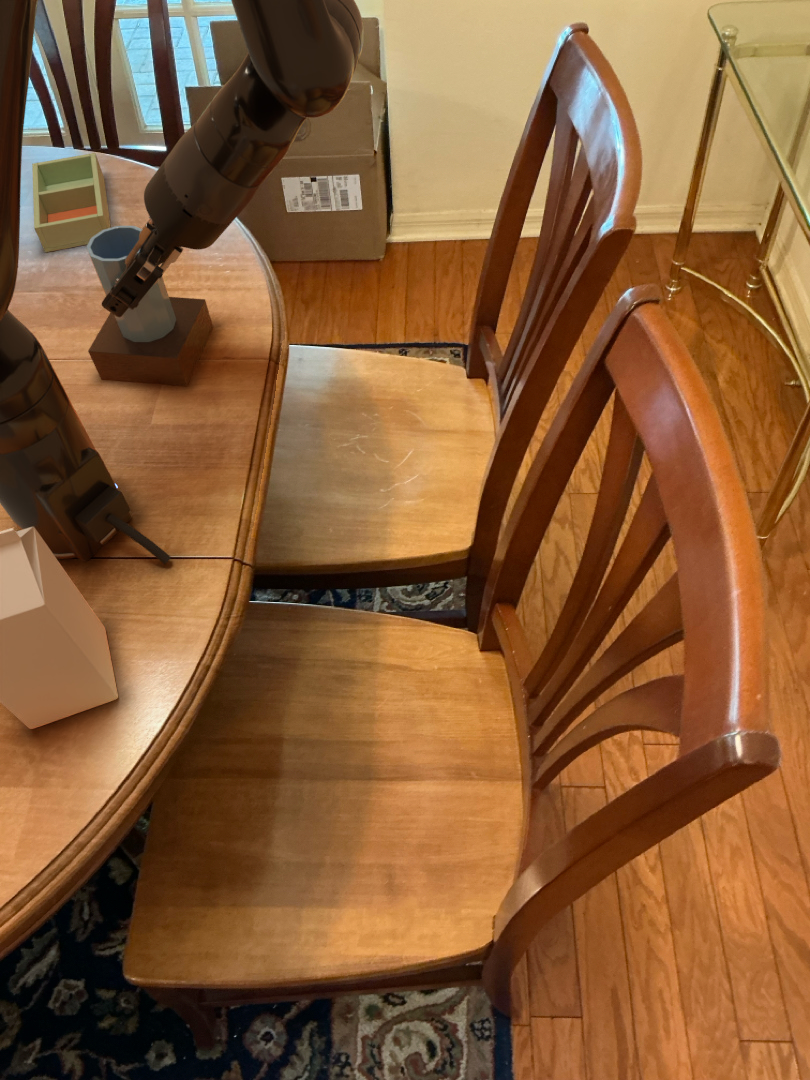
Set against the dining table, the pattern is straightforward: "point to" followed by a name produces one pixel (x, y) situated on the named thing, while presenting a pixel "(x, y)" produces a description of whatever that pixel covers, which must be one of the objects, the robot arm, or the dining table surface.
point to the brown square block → (155, 348)
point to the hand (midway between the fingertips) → (126, 284)
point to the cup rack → (69, 201)
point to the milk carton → (47, 637)
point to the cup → (109, 263)
